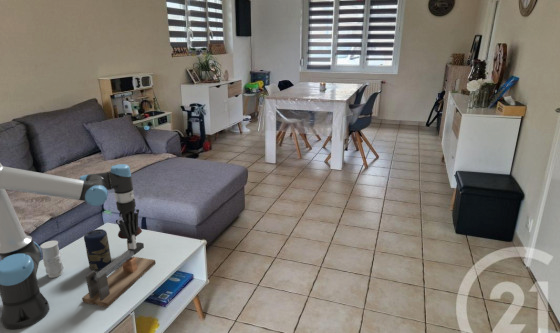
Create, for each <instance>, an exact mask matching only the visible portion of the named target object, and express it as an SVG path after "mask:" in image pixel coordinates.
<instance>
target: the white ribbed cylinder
mask: <svg viewBox="0 0 560 333" xmlns="http://www.w3.org/2000/svg"><path fill="white" fill-rule="evenodd" d="M39 247H40V250H41V254H42V261H43V265H44V267H45V271H46V272H45V273H46V274H47V276H48V278H52V279H53V278H57V277H60V276H62V274H64V264H63V258H62V253H61V252H60V249H59V248H60V247H59V241H58V240H50V241H49V240H48V241H46V242H44V243H42V244H40V246H39Z"/></svg>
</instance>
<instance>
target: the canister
mask: <svg viewBox="0 0 560 333" xmlns="http://www.w3.org/2000/svg"><path fill="white" fill-rule="evenodd" d="M83 240H84V245H85V246H84V247H85V250H86V256H87V260H88V265H89V267H90V269H91V270H94V271H96V270H97V271H98V270H99V271H100V270H102V269H103V268H104V267H106V266H107V265H108V264H110V263H111V262H112V256H111V251H110V244H109V237H108V234H107V231H106V230H105V229H101V228H100V229H98V228H97V229H93V230H90V231H87V232H86V233H85V234H84V236H83Z"/></svg>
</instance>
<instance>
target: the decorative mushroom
mask: <svg viewBox="0 0 560 333" xmlns="http://www.w3.org/2000/svg"><path fill="white" fill-rule="evenodd" d="M136 232H137V234H135V237H138V236H139V235H140V234H141V233H142V232H143V230H142V228H141V227H140V226H138V231H136ZM117 237H119V238H120V239H122V240H126V244H127V246H126V247H127V250H128V249H129V244H128V241H127V237H123V236H122V233H121V231H120V230H119V231H118V233H117Z"/></svg>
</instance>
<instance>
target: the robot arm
mask: <svg viewBox="0 0 560 333" xmlns="http://www.w3.org/2000/svg"><path fill="white" fill-rule="evenodd" d="M132 178H133V177H132V173H131V167H130V166H129V165H128V164H126V163H125V164H124V163H119V164H118V163H117V164H114V165H112V166H111V167H110V171H103V172H98V173H97V172H96V173H88V174H84V175H81V176H79V179H77V178H71V177H66V176H61V175H55V174H49V173H43V172H37V171H34V170H33V171H32V170H27V169H22V168H21V169H20V168H15V167H9V166H4V165H2V163H1V162H0V259H1V260H0V299H1V302H2V308H1V309H2V310H1V316H0V322H1V325H2V327H3V328H4V329H8V330H19V329H23V328H26V327H30V326H32V325H34V324H36V323H38V322H40V321H41V320H42V319H44V317H46V316H47V314H48V313H49V311H50V304H49V301H48V300H47V299H46V297H45V296H44V294H42V292H41V291H40V286H39V283H38V279H37V278H38V277H37V275H38V274H37V273H38V269H39V265H40V262H41V259H42V258H41V257H42V249H41V247H40V246H39V244H38V243H37V242H35V241H34V239H33V237H32V236H31V235H27V234H26V232H25V230H24V228H23V226H22V224H21V222H20V220H19V217H18V215H17V212H16V211H15V208H14V206H13V204H12V202H11V199H10V197H9V194H8V192H7V191H6V190H10V191H15V192H22V193H28V194H35V195H36V194H37V195H42V196H48V197H55V198H62V199H67V200H68V199H69V200H75V201H81V202H86V203H87V204H88V205H90V206H92V207H98V206H102V205H104V204H105V203H106V201H107V200H108V196H109V191H110V190H113V192H114V199H115V204H116V209H117V211H118V212H119V214H118V215H119V218H118V219H115V223H116V225H117V226H118V228H119V231H121V233H122V236H123V237H127V239H126V242H127V241H128V244H129V249H136V243H137V241H136V240H137V239H136V237H137V236H136V237H135V234H137V232H136V231H138V227H139V213H140V209H138V208H136V199H135V194H134V185H133V179H132Z"/></svg>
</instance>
